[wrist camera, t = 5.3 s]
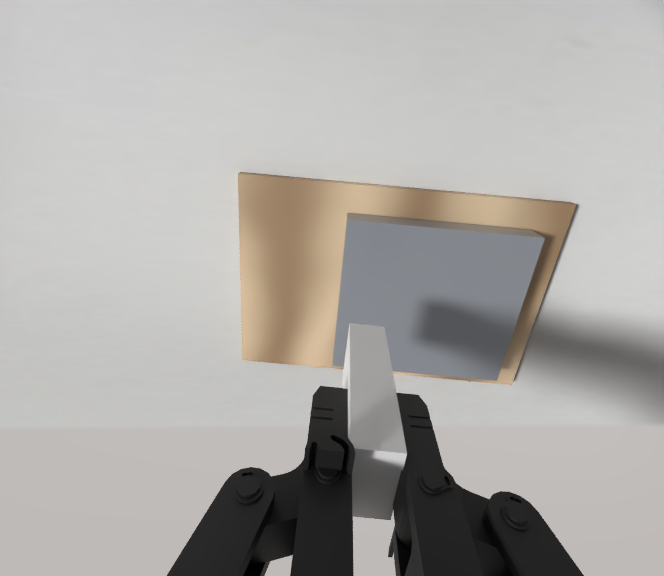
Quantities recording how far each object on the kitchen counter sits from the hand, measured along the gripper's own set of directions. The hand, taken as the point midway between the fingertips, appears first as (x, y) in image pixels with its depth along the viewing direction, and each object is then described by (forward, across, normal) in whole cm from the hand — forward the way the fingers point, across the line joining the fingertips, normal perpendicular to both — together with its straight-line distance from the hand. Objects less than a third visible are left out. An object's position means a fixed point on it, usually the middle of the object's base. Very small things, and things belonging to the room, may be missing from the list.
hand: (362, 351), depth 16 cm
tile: (+6, -1, 0) cm, 6 cm away
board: (+7, +2, 0) cm, 7 cm away
